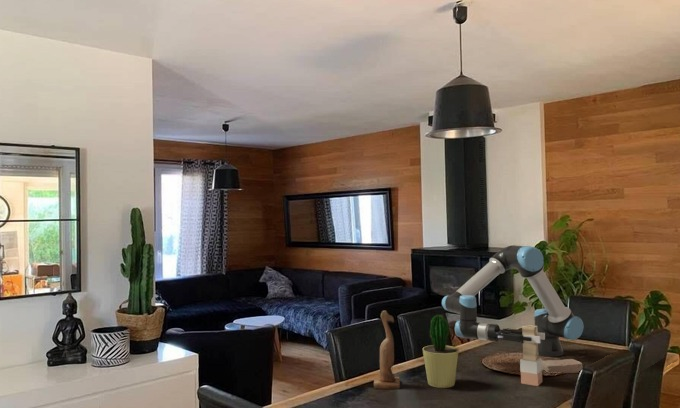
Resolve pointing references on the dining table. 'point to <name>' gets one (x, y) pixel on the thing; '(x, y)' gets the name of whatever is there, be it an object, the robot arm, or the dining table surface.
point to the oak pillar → (530, 343)
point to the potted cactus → (440, 356)
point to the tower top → (531, 366)
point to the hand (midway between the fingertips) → (542, 338)
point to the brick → (562, 366)
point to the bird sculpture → (386, 358)
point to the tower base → (531, 378)
